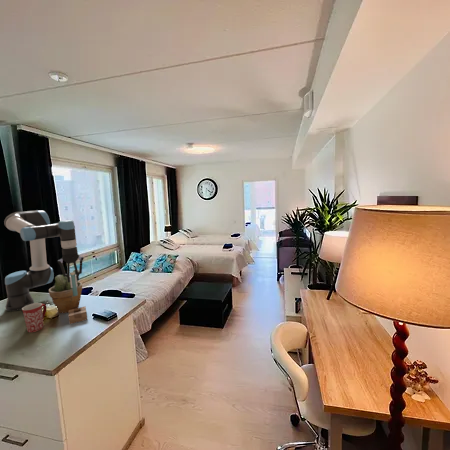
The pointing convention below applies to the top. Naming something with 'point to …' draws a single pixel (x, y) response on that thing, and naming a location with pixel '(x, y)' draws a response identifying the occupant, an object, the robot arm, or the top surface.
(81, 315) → the wooden holder
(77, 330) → the top surface
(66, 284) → the potted plant
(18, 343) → the top surface
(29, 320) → the mug
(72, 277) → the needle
